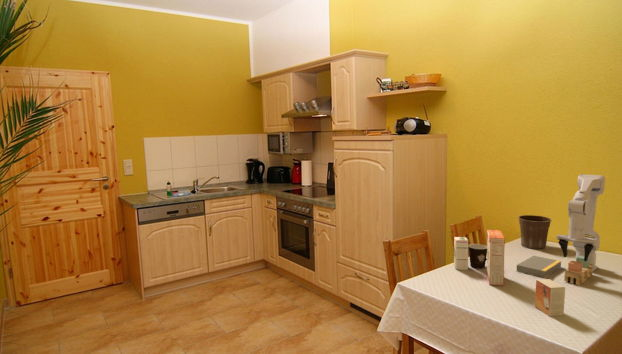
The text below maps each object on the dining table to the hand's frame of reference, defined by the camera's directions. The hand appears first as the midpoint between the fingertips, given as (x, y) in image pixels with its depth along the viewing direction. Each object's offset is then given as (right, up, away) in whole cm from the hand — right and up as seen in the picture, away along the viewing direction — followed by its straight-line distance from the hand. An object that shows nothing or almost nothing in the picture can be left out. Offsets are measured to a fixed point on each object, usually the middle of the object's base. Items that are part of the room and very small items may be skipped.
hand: (575, 258), depth 171 cm
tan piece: (+3, -9, +3) cm, 10 cm away
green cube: (+7, -5, +6) cm, 10 cm away
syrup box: (-42, -9, +19) cm, 47 cm away
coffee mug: (-32, -8, +20) cm, 39 cm away
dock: (-7, -8, +15) cm, 18 cm away
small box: (-28, -13, -28) cm, 42 cm away
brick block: (-1, -5, -1) cm, 6 cm away
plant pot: (+11, -4, +52) cm, 53 cm away
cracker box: (-34, -10, +3) cm, 35 cm away
